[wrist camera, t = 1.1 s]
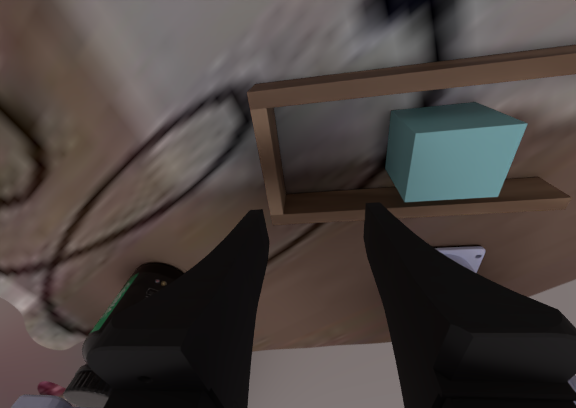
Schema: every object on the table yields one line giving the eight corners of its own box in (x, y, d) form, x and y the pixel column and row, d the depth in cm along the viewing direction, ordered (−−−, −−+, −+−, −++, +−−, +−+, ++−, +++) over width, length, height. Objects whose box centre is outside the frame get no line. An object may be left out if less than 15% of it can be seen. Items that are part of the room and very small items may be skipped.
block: (458, 162, 20) (497, 196, 16) (384, 168, 20) (404, 202, 16) (474, 101, 17) (527, 123, 13) (390, 110, 18) (415, 133, 14)
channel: (533, 187, 20) (564, 209, 18) (276, 204, 23) (272, 225, 20) (603, 41, 15) (663, 42, 12) (255, 84, 17) (246, 92, 15)
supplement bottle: (125, 262, 29) (28, 383, 19) (181, 260, 28) (112, 385, 18) (150, 299, 32) (80, 417, 22) (200, 298, 32) (151, 420, 22)
